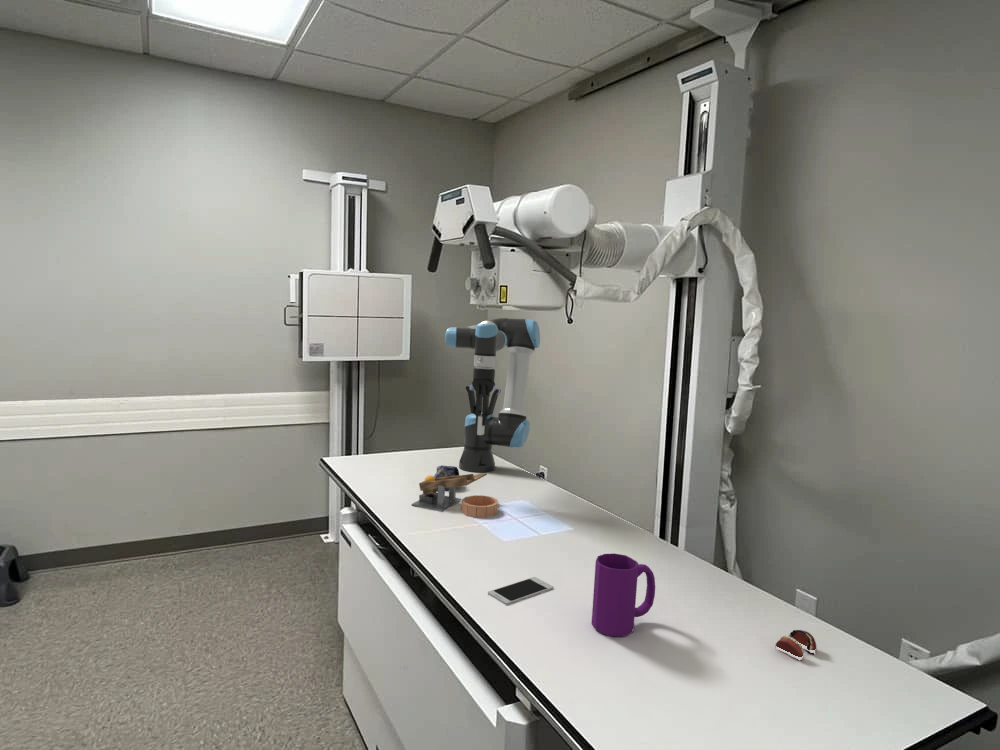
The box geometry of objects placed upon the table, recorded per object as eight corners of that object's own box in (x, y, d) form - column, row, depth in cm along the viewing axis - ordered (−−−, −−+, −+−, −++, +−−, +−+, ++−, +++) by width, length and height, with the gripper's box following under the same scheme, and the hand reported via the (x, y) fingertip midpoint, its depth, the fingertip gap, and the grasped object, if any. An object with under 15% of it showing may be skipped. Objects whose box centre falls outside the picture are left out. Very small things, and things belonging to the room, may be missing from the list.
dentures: (774, 631, 131) (795, 622, 135) (771, 650, 131) (793, 641, 136) (799, 645, 126) (821, 635, 131) (796, 664, 127) (818, 654, 131)
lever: (421, 495, 215) (418, 483, 215) (442, 484, 229) (440, 473, 229) (468, 490, 207) (466, 477, 207) (487, 479, 221) (485, 467, 221)
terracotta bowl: (471, 503, 218) (471, 493, 217) (503, 509, 213) (503, 499, 213) (455, 513, 207) (455, 502, 206) (488, 519, 202) (488, 509, 202)
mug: (582, 621, 139) (587, 556, 138) (637, 608, 147) (642, 546, 145) (608, 641, 131) (613, 572, 130) (665, 627, 138) (670, 561, 137)
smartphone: (554, 590, 155) (554, 586, 155) (506, 606, 145) (506, 602, 145) (534, 579, 160) (534, 576, 160) (487, 595, 151) (487, 591, 151)
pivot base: (411, 505, 212) (412, 483, 211) (432, 495, 225) (433, 473, 224) (441, 511, 208) (442, 488, 207) (461, 500, 220) (461, 478, 220)
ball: (430, 485, 219) (426, 476, 219) (438, 482, 217) (434, 472, 218) (425, 488, 216) (421, 478, 216) (433, 484, 214) (429, 474, 215)
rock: (461, 485, 230) (451, 460, 231) (436, 496, 231) (425, 471, 232) (467, 483, 241) (456, 459, 242) (442, 494, 241) (432, 470, 243)
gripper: (462, 366, 220) (459, 433, 222) (496, 369, 215) (492, 438, 216) (472, 366, 227) (468, 430, 229) (505, 368, 222) (501, 435, 223)
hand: (480, 434), depth 223 cm, fingers closed
